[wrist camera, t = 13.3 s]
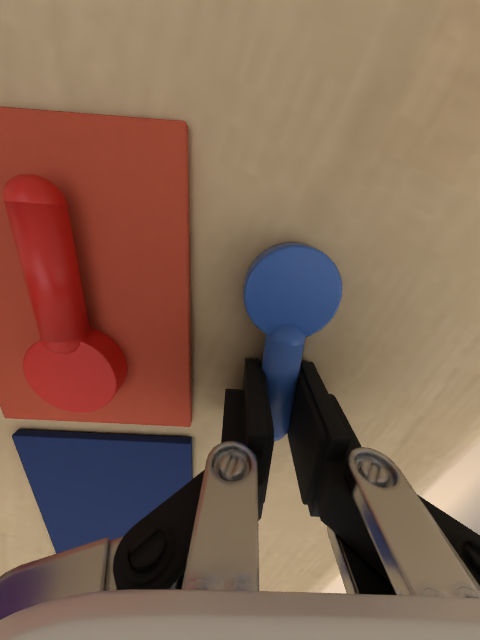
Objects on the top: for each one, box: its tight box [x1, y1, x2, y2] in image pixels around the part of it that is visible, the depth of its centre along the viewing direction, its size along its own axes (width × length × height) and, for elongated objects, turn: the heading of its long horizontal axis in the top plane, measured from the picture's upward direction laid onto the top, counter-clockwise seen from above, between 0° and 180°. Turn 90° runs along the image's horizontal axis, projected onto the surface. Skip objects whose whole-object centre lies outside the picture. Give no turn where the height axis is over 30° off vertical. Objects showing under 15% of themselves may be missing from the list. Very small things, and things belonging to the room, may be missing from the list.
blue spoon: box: [243, 242, 342, 441], centre depth 9 cm, size 8×3×1 cm, turn 176°
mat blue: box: [12, 429, 193, 554], centre depth 14 cm, size 11×8×1 cm
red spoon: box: [3, 174, 127, 413], centre depth 8 cm, size 8×3×1 cm, turn 176°
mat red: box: [0, 107, 192, 427], centre depth 9 cm, size 11×8×1 cm
